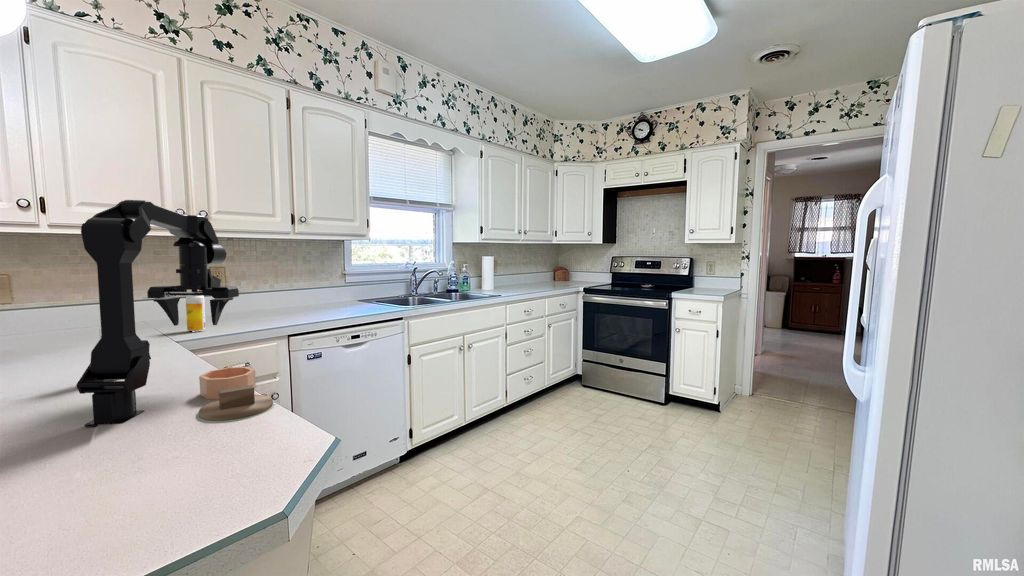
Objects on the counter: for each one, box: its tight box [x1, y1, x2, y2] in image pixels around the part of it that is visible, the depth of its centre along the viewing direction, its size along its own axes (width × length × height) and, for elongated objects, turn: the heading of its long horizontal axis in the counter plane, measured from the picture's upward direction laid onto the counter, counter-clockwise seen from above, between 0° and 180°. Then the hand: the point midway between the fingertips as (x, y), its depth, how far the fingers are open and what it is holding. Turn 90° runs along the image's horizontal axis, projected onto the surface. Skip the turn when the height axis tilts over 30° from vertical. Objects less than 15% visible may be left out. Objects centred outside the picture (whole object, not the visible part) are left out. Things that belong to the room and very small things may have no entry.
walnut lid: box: [198, 385, 274, 421], centre depth 88 cm, size 13×13×4 cm
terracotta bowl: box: [199, 366, 257, 400], centre depth 98 cm, size 10×10×5 cm
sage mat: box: [195, 399, 276, 423], centre depth 88 cm, size 14×14×1 cm
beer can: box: [185, 295, 207, 332], centre depth 170 cm, size 6×6×15 cm
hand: (195, 325), depth 107 cm, fingers open, 9 cm apart
